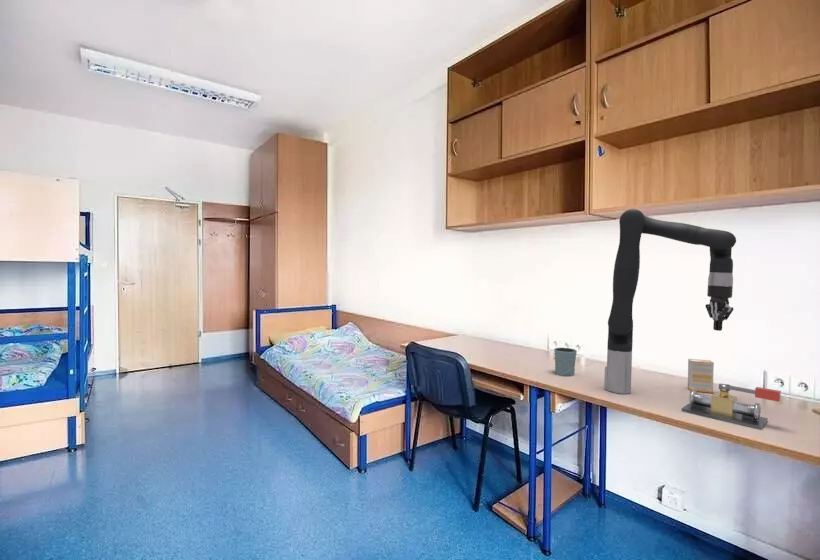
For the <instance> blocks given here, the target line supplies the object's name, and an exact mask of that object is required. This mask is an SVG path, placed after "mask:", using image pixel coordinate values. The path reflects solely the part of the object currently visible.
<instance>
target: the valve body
mask: <svg viewBox="0 0 820 560" xmlns="http://www.w3.org/2000/svg"><path fill="white" fill-rule="evenodd" d="M729 392H730V391H724V390H720V389H719V392H713V393H712V395H707V394H703V393H698V392H697V391H694V390H692V391H690V393H689V403H688V404H686V405H684V406H683V407H682V408H681V412H685V413H688V414H693V415H697V416H701V417H705V418H709V419H714V420H716V421H717V420H718V421H722V422H725V423H726V422H727V423H730V424H736V425H738V426H739V425H740V426H743V427H748V428H752V429H756V430H760V431H761V430H762V429H764V427H765V425H766V424H767V423H768V422H769V418H768V417H765V416H764V417H763V416H761V411H762V410H761V409H762V407H761V403H758V402H755V403H754V404H751V403H747V402H741V401H738V400H737V398H738V396H735V395H730V393H729Z"/></svg>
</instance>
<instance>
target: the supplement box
mask: <svg viewBox="0 0 820 560" xmlns="http://www.w3.org/2000/svg"><path fill="white" fill-rule="evenodd" d="M687 361H688V362H687V389H688V390H689V392H691V391H692V390H694V391H696V392H697V393H698V392H699V393H705V394H706V393H707V394H714V367H715V366H714V361H712V360H711V359H700V358H699V359H696V358H688V360H687Z"/></svg>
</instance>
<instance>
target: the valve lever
mask: <svg viewBox="0 0 820 560" xmlns="http://www.w3.org/2000/svg"><path fill="white" fill-rule="evenodd" d="M718 390H719V391H720V390H724V391H729V392H730V391H736V392H741V393H746V394H752V395H754V397H755V398H756V399H763V400H768V401H774V402H778V403H780V402H781V398H782V397H781V395H782V391H781V390H777V389H776V390H775V389H772V388H771V389H770V388H765V387H760V386H756V387H755V388H754V389H752V388H747V387H740V386H734V385H730V384H725V383H718Z"/></svg>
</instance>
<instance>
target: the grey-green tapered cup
mask: <svg viewBox="0 0 820 560" xmlns="http://www.w3.org/2000/svg"><path fill="white" fill-rule="evenodd" d="M553 351H554V365H555V366H554V370H555V371H554V373H555V374H556V375H558V376H561V377H573V376H575V370H576V368H575V367H576V359H577V350H576V349H574V348H569V347H556V348H554V349H553Z"/></svg>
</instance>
